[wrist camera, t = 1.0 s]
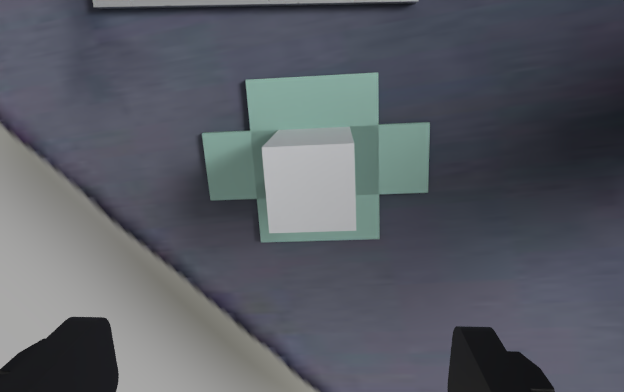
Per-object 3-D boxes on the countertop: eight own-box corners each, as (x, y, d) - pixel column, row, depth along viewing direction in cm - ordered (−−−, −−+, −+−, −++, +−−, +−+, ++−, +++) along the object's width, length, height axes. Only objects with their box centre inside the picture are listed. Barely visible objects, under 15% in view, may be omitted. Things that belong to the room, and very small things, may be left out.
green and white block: (428, 69, 28) (462, 69, 21) (424, 233, 32) (452, 283, 24) (198, 82, 29) (152, 85, 22) (218, 239, 33) (184, 289, 25)
